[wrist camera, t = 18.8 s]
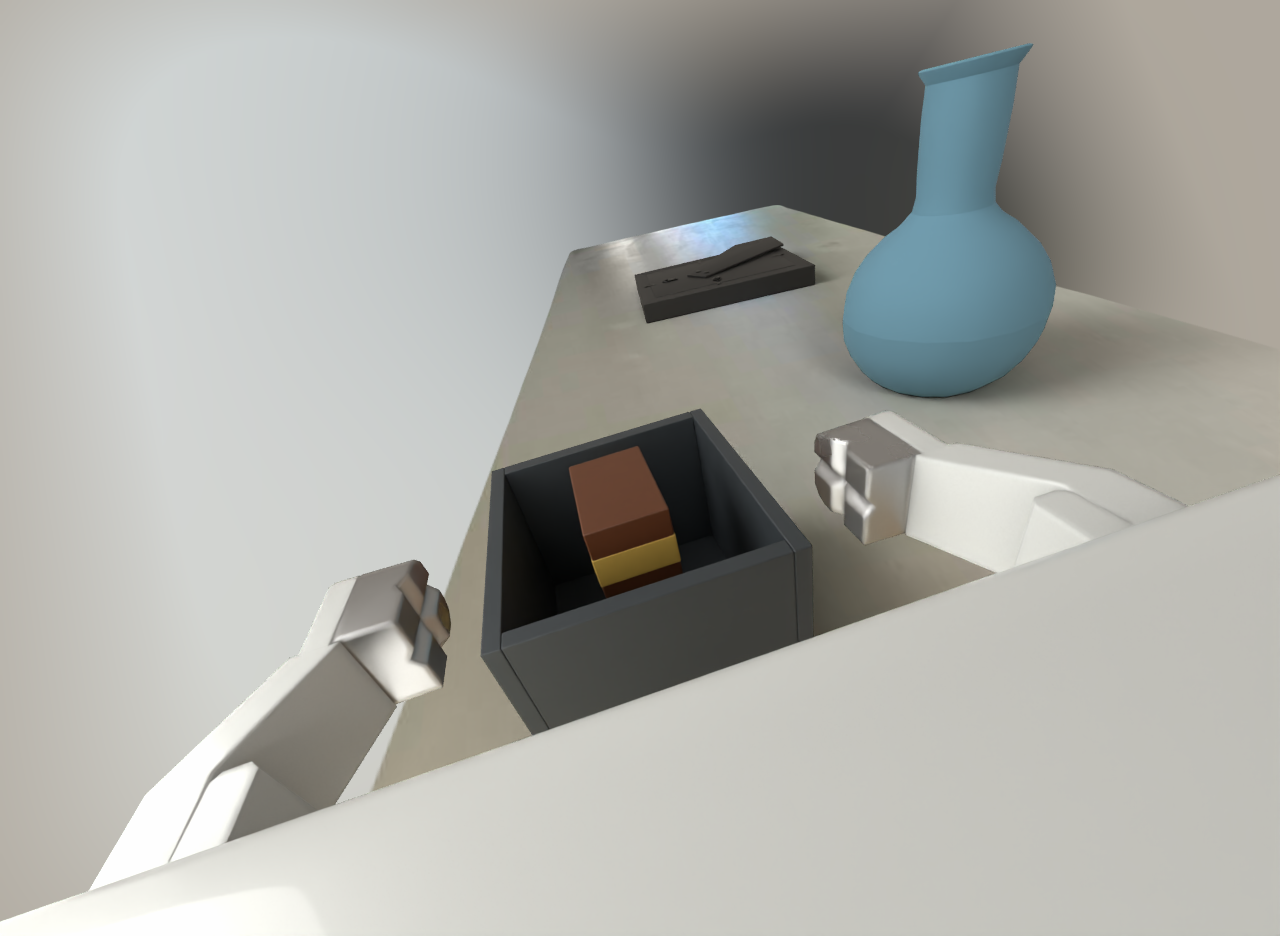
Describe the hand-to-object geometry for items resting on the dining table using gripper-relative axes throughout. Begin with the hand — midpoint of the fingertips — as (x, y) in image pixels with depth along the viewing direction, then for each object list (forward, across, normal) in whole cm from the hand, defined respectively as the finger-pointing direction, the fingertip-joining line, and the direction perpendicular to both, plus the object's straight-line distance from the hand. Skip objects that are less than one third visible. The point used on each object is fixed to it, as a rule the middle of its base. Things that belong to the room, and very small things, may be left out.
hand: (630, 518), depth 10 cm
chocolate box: (+12, 0, +18) cm, 22 cm away
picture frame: (+81, -30, +19) cm, 89 cm away
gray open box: (+12, 0, +19) cm, 22 cm away
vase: (+31, -34, +19) cm, 50 cm away
